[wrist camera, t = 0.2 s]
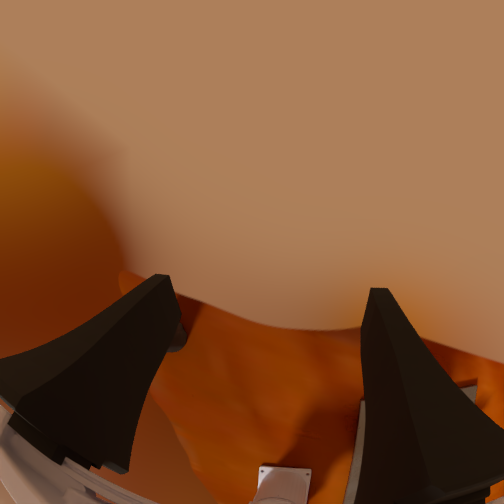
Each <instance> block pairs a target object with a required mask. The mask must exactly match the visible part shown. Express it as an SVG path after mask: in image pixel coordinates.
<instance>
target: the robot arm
mask: <svg viewBox="0 0 504 504" xmlns="http://www.w3.org/2000/svg"><path fill="white" fill-rule="evenodd" d="M181 315H182V314H181V311H180V308H179V305H178V302H177V299H176V296H175V292H174V289H173V286H172V283H171V280H170V276H169V275H162V274H155V275H153V276H151V277H150V278H148V279H147V280H145V281H144V282H142V283H141V284H140V285H138V286H137V287H135V288H134V289H133V290H131V291H130V292H129V293H127V294H126V295H124V296H123V297H122V298H120V299H119V300H118V301H116V302H115V303H113V304H112V305H111V306H109V307H108V308H106V309H105V310H103V311H102V312H100V313H99V314H98V315H96V316H95V317H93V318H92V319H90V320H89V321H87V322H85V323H84V324H82V325H81V326H79V327H77V328H75V329H74V330H72V331H70V332H68V333H67V334H65V335H63V336H61V337H59V338H57V339H55V340H52V341H50V342H48V343H46V344H44V345H41V346H39V347H37V348H34V349H31V350H29V351H26V352H23V353H20V354H16V355H13V356H9V357H6V358H2V359H0V398H1V399H2V400H3V401H4V402H5V403H6V404H7V405H8V406H9V407H11V408H12V409H13V410H14V413H13V414H10V413H9V412H8V411H7V410H6V409H5V408H4V407H3V406H2V405H1V404H0V480H1V482H2V483H3V485H4V486H5V488H6V489H7V491H8V492H9V494H10V495H11V497H12V498H13V500H14V501H15V502H16V504H112V503H109V502H107V501H104V500H102V499H100V498H97V497H96V493H98V494H100V495H102V496H103V497H105V498H107V499H109V500H111V501H113V502H114V503H116V504H159V503H156V502H154V501H151V500H148V499H146V498H144V497H141V496H139V495H137V494H134V493H132V492H130V491H128V490H126V489H123V488H121V487H119V486H117V485H115V484H113V483H111V482H109V481H107V480H105V479H103V478H102V477H100V476H98V475H96V474H94V473H93V472H91V471H89V469H90V467H91V465H92V466H93V467H95V468H97V469H100V468H101V466H104V467H106V468H108V469H110V470H112V471H114V472H117V473H119V474H125V473H127V472H128V471H129V463H130V456H131V450H132V445H133V441H134V436H135V432H136V427H137V424H138V420H139V417H140V413H141V410H142V407H143V404H144V401H145V398H146V395H147V392H148V389H149V387H150V385H151V382H152V380H153V378H154V376H155V374H156V372H157V370H158V368H159V366H160V364H161V362H162V360H163V358H164V356H165V354H166V352H167V350H168V348H169V346H170V344H171V342H172V340H173V338H174V335H175V333H176V330H177V327H178V324H179V321H180V318H181ZM361 364H362V374H363V385H364V398H365V433H364V445H363V454H362V462H361V469H360V475H359V481H358V487H357V491H356V496H355V500H354V504H504V496H502V497H500V498H498V499H496V500H493V501H491V502H489V503H485V498H486V497H488V496H489V495H490V486H492V485H494V484H496V483H498V482H500V481H502V480H504V429H502V428H501V427H500V426H499V425H497V424H496V423H495V422H494V421H493V420H492V419H490V418H489V417H488V416H487V415H486V414H485V413H484V412H483V411H482V410H480V409H479V408H478V407H477V406H476V405H475V404H474V403H473V402H472V401H471V400H470V398H469V397H468V396H467V395H466V394H465V393H464V392H463V391H462V390H461V389H460V388H459V387H458V386H457V385H456V384H455V382H454V381H453V380H452V379H451V378H450V377H449V375H448V374H447V373H446V372H445V370H444V369H443V368H442V367H441V366H440V364H439V363H438V362H437V360H436V359H435V358H434V356H433V355H432V354H431V352H430V351H429V350H428V348H427V347H426V345H425V344H424V342H423V341H422V340H421V338H420V337H419V335H418V334H417V332H416V331H415V329H414V328H413V326H412V325H411V323H410V322H409V321H408V319H407V317H406V316H405V314H404V312H403V311H402V310H401V308H400V306H399V305H398V303H397V301H396V300H395V298H394V297H393V295H392V294H391V292H390V291H389V289H388V288H371V289H370V293H369V297H368V302H367V306H366V310H365V314H364V318H363V322H362V326H361ZM261 470H263V471H264V472H262V471H261ZM307 473H309V475H307ZM310 478H311V469H303V468H284V467H272V466H260V468H259V480H258V491H257V493H256V495H255V498H254V500H253V502H249V504H306V503H307V497H308V491H309V485H310ZM95 492H96V493H95Z"/></svg>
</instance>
